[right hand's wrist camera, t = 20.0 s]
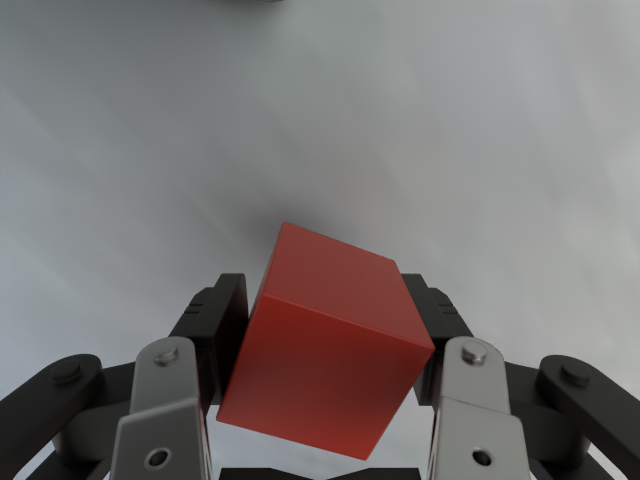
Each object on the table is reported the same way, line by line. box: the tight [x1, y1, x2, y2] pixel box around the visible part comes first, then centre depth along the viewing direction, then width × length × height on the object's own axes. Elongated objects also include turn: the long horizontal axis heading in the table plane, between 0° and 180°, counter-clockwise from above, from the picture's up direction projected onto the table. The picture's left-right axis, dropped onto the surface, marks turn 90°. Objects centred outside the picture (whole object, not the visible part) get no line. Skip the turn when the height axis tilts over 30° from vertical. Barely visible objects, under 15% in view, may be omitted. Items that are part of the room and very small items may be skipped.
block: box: [216, 222, 435, 460], centre depth 11 cm, size 4×4×5 cm
